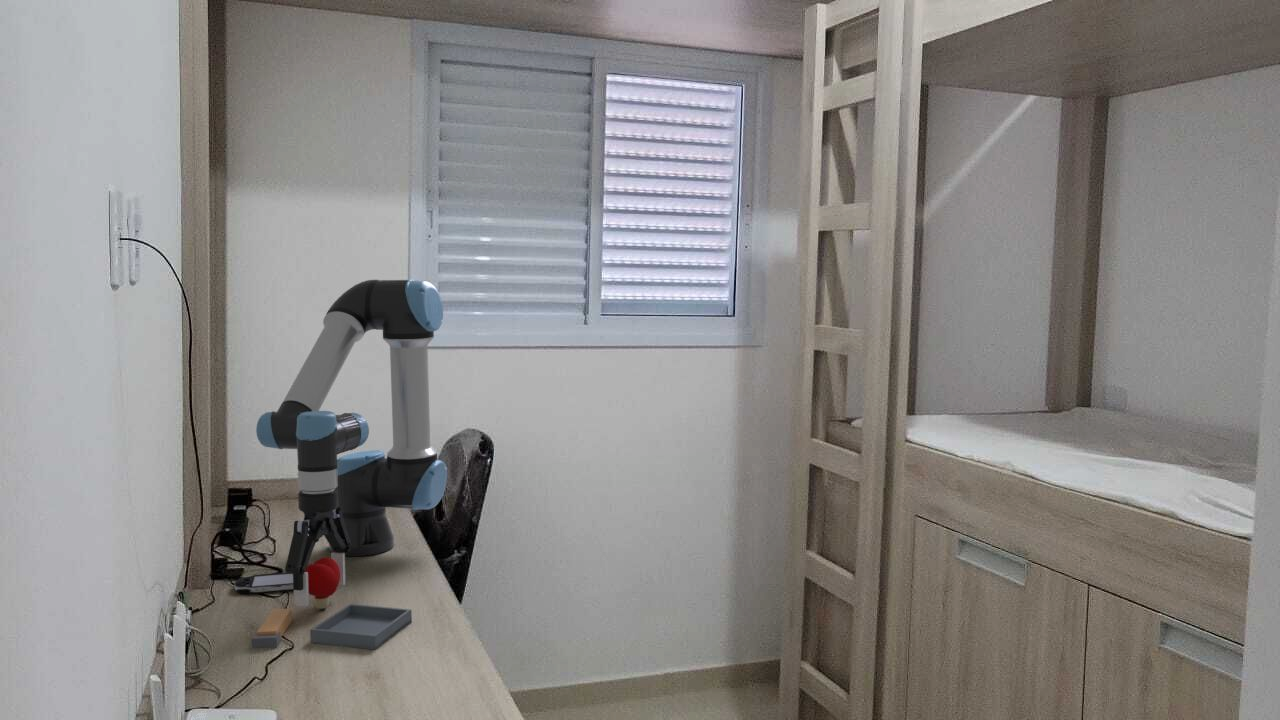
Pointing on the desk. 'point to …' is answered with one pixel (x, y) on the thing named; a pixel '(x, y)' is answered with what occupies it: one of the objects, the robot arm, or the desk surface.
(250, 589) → the gaming console
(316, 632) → the parts tray
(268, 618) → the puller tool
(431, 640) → the desk surface
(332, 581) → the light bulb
